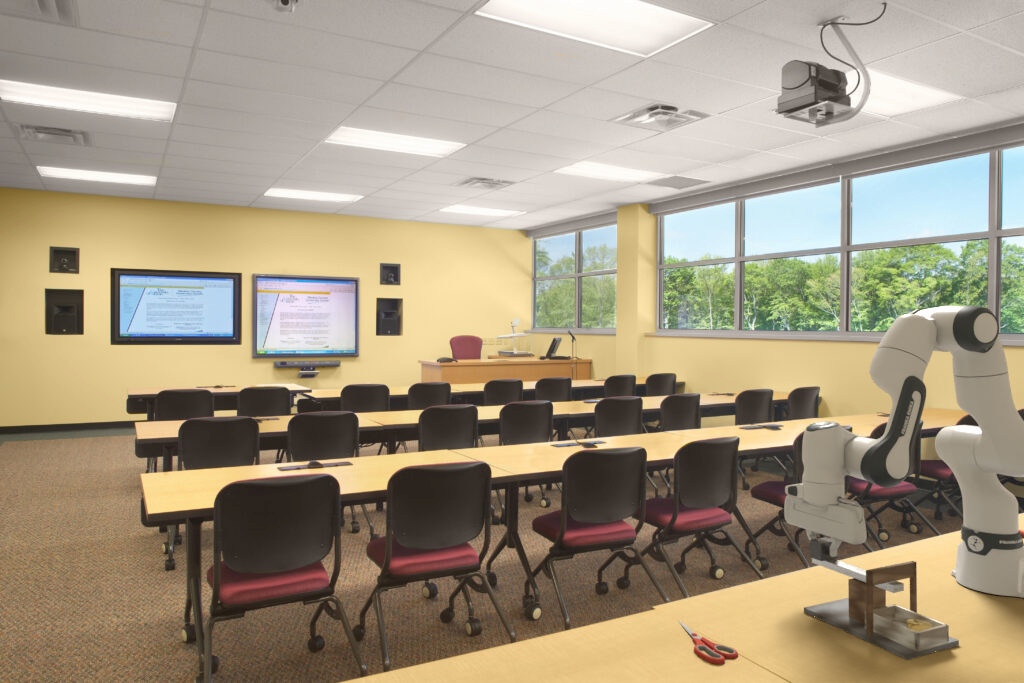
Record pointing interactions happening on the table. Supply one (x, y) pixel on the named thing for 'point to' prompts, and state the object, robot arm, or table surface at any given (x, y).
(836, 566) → the steel shaft
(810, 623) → the table surface
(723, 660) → the scissors
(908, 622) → the brass spacer
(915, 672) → the table surface
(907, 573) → the shaft stand
